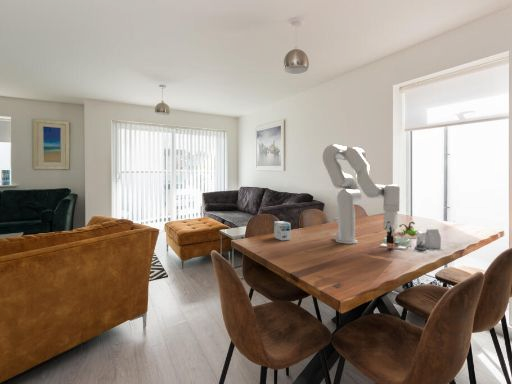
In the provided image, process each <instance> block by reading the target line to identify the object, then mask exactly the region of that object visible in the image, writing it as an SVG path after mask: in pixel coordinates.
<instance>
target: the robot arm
mask: <svg viewBox="0 0 512 384" xmlns="http://www.w3.org/2000/svg"><path fill="white" fill-rule="evenodd" d="M338 160H343V161H346V162H347V163H348V164H349V165H350V167H351V168H352V170H353V172H354V173H355V175H356V179H355V177H354V176H353V175H351V174H349V173H346V172H345V171H344V170H343V167H342V165H341V163H340V162H339V161H338ZM322 162H323V164H324V167H325V169H326V171H327V173H328V176H329V178H330V181H331V183H332V184H333V187H334V188H335V189H341V190H340V191H338V192H337V196H336V201H337V208H338V209H337V211H338V212H337V213H338V214H337V215H338V220H337V224H338V225H337V226H338V229H337V230H338V231H337V233H332V234H331V236H332V237H333V238H335V242H336V243H339V244H351V245H352V244H358V242H359V241H358V239H356V209H355V205H358V204H360V202H361V201H362V198H363V197H362V193H361V191H362V192H363V194H364V195H365V196H366V197H367V198H369V199H382V198H383V208H382V209H383V210H382V211H384V212H383V224H382V225H383V227H382V228H383V230H386V237H387V243H391V244H393V239H394V236H393V230H395V231H396V229H398V212H400V192H401V191H400V185H397V184H385V185H384V184H376V183H375V182H374V181H373V179H372V178H371V176H370V169H371V166H370V164H369V163H368V162H367V160H366V152H365V150H364V149H362V148H360V147H355V146H346V145H345V146H344V145H343V146H342V145H339V144H329V145H327V146H326V147H325V148H324V150H323V152H322ZM360 189H361V190H360Z"/></svg>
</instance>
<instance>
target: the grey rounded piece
mask: <svg viewBox="0 0 512 384" xmlns="http://www.w3.org/2000/svg"><path fill="white" fill-rule="evenodd" d="M416 234H417V239H415V241H416V245H415V246H414V250H417V251H428V248H426V247H425V236H426V231H417V232H416Z"/></svg>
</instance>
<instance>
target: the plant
mask: <svg viewBox="0 0 512 384" xmlns="http://www.w3.org/2000/svg"><path fill="white" fill-rule="evenodd" d="M411 224H412V225H415V224H416V223H415V222H414V221H410V222H409V224H408V226H407V225H406V224H404V223H402V224H400V225H399V228H401V231H400V232H399V231H398V232H395V237H397V238H406V239H410V240H417V232H420V231H419V230H418V229H414V227H413V226H411ZM402 226H404V227H405V228H402Z"/></svg>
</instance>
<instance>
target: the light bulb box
mask: <svg viewBox="0 0 512 384" xmlns="http://www.w3.org/2000/svg"><path fill="white" fill-rule="evenodd" d="M273 225H274V226H273V229H274V230H273V232H274V233H273V234H274V235H273V236H274V237H275V238H274V237H273V238H274V239H277V240H280V241H291V235H292V234H291V233H292V231H291V222H288V221H284V220H281V221H280V220H278V221H274V222H273Z"/></svg>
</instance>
